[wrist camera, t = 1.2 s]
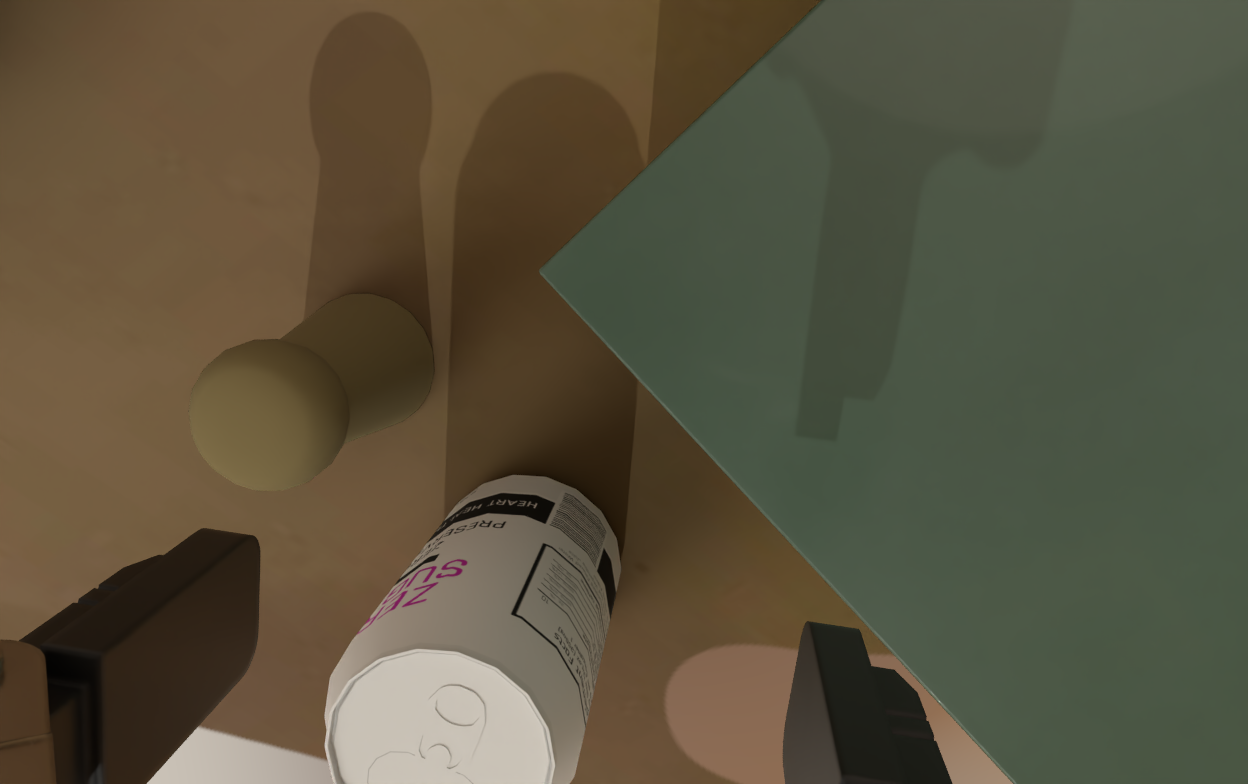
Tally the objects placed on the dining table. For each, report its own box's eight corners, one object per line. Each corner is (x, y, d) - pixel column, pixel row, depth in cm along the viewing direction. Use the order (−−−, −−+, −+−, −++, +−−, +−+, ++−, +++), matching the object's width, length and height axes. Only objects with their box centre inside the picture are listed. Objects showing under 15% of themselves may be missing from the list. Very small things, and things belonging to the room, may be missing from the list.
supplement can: (584, 665, 44) (520, 912, 29) (418, 597, 44) (272, 810, 29) (650, 513, 42) (617, 696, 27) (476, 441, 42) (351, 587, 27)
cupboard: (1001, -127, 35) (1580, -725, 12) (1418, 388, 38) (2565, 740, 14) (642, 211, 39) (536, 271, 16) (1043, 654, 42) (1463, 1270, 18)
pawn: (460, 390, 41) (371, 466, 31) (347, 451, 42) (223, 546, 32) (387, 267, 40) (270, 302, 30) (273, 334, 41) (121, 390, 31)
